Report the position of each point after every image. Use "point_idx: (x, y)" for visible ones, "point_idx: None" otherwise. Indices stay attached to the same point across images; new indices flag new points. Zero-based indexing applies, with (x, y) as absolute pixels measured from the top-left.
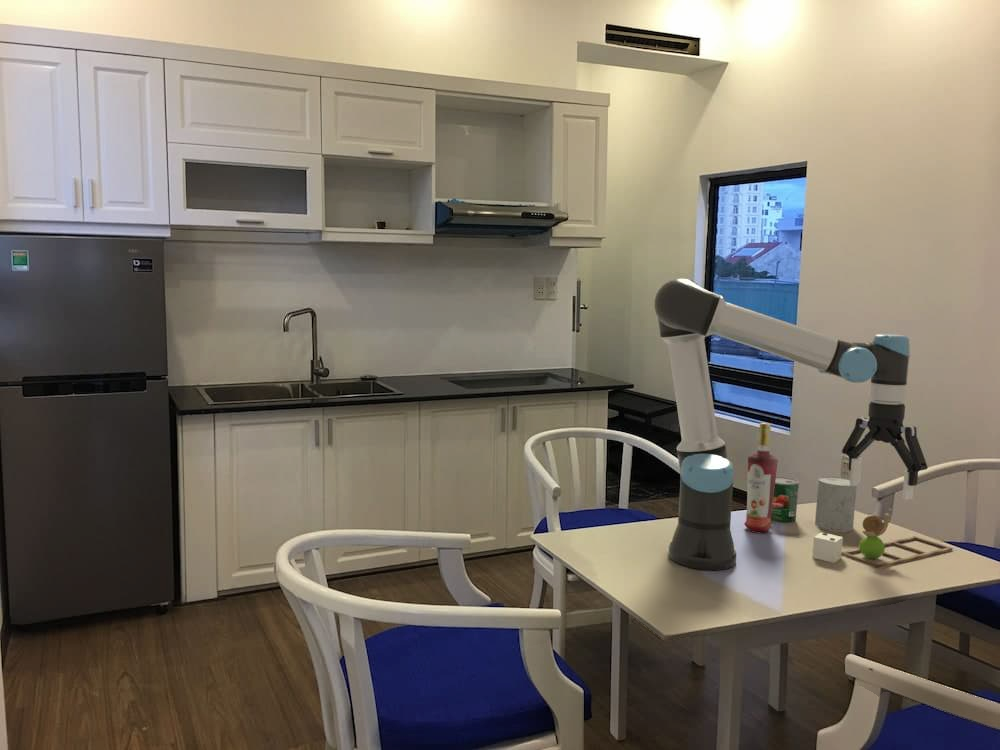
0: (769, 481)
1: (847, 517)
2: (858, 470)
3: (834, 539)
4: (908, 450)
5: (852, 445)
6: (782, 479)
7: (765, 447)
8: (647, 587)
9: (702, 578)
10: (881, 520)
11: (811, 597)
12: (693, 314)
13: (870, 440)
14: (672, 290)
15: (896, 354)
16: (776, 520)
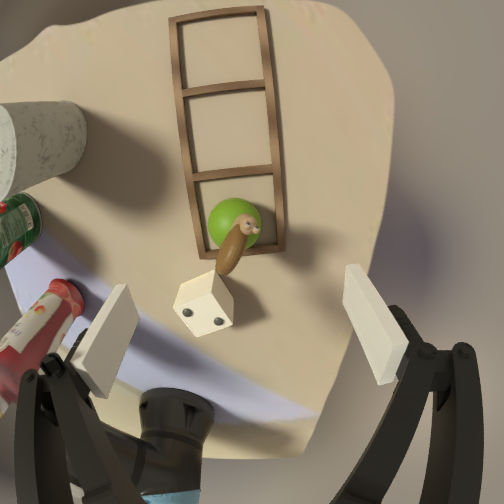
0: None
1: (69, 137)
2: (110, 335)
3: (223, 321)
4: (406, 450)
5: (51, 426)
6: None
7: (4, 409)
8: (232, 449)
9: (228, 426)
10: (245, 240)
11: (314, 387)
12: None
13: (138, 499)
14: None
15: None
16: (35, 240)
